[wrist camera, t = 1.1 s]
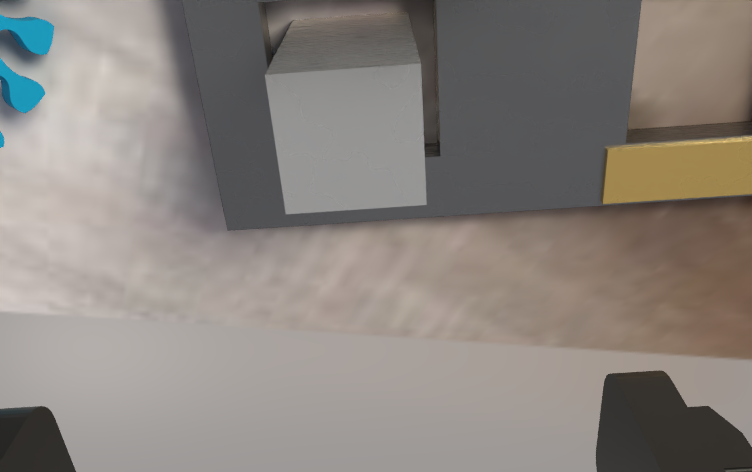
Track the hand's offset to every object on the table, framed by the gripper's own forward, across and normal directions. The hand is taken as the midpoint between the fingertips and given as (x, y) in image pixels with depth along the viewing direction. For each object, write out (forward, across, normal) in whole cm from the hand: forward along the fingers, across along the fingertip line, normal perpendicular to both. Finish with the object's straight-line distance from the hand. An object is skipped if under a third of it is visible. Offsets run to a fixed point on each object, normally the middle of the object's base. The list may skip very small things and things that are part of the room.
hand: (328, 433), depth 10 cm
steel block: (+20, 0, 0) cm, 20 cm away
